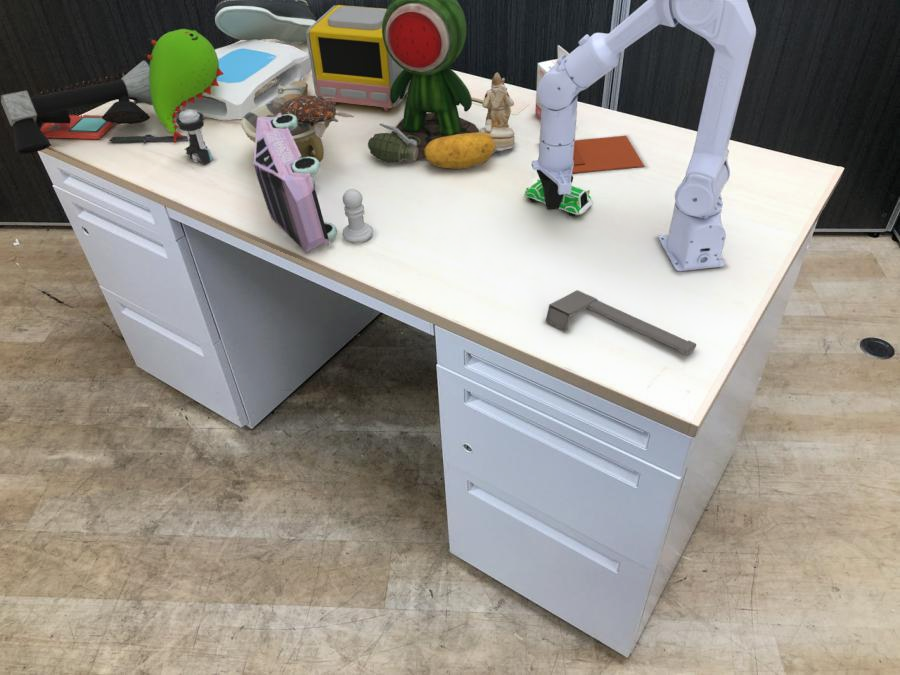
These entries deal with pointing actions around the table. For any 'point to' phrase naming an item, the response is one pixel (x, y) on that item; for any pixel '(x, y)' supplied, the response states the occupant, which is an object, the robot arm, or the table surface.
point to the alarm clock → (352, 57)
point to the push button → (194, 135)
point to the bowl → (301, 136)
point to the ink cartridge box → (541, 71)
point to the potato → (460, 150)
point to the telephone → (76, 106)
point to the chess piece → (355, 218)
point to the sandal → (292, 90)
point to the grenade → (393, 146)
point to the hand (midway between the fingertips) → (552, 207)
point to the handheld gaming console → (78, 127)
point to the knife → (145, 138)
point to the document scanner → (250, 77)
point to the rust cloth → (604, 154)
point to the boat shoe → (265, 19)
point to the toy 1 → (180, 73)
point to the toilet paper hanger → (579, 301)
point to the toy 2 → (309, 111)
